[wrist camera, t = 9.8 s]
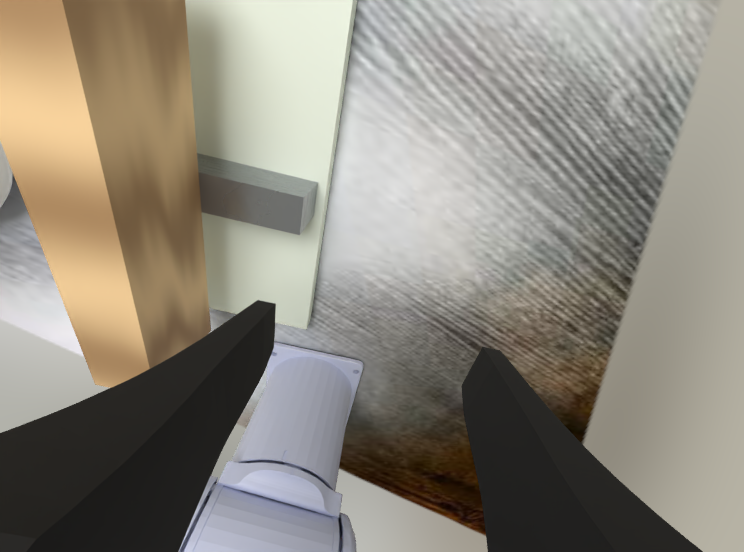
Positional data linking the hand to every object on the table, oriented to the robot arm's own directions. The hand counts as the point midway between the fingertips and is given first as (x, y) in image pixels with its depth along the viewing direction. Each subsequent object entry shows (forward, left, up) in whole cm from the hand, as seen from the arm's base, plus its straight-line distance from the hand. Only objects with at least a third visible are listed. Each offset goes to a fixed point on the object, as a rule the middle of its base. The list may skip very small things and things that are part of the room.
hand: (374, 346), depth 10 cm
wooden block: (+1, +11, -6) cm, 13 cm away
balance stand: (+1, +11, -10) cm, 15 cm away
